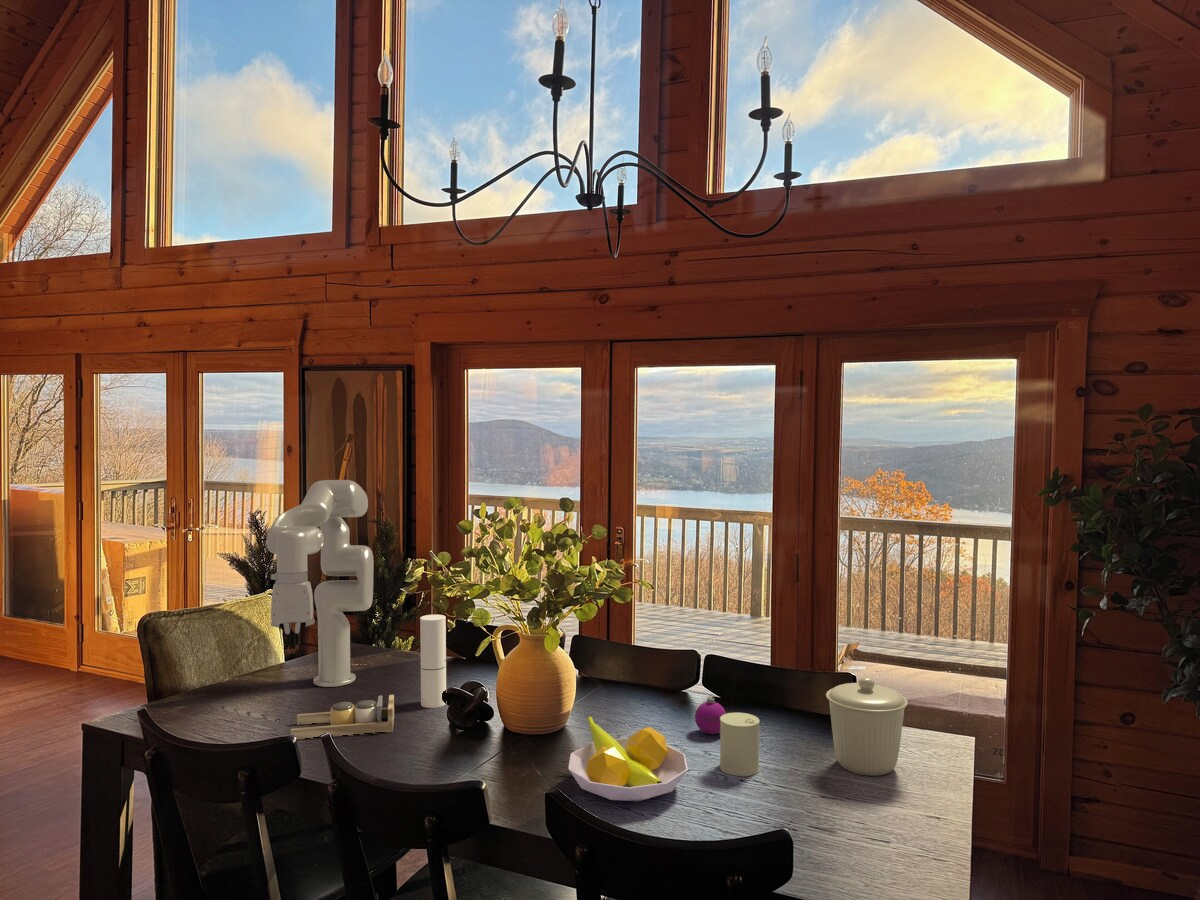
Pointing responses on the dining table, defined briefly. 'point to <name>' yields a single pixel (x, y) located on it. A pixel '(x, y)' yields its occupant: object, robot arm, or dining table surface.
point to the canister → (866, 726)
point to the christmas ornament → (709, 716)
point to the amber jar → (342, 713)
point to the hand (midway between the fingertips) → (293, 647)
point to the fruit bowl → (627, 765)
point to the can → (739, 744)
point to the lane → (342, 729)
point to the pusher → (379, 709)
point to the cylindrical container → (433, 660)
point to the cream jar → (365, 712)
